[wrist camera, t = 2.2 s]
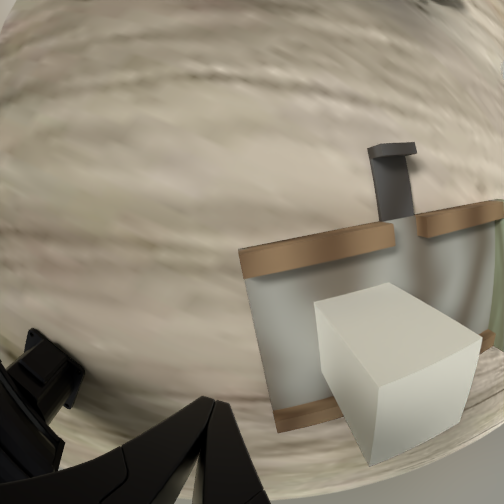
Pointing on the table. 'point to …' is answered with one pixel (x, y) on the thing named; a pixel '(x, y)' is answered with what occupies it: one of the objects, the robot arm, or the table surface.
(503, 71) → the coffee cup
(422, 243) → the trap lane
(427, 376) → the block
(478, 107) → the table surface
